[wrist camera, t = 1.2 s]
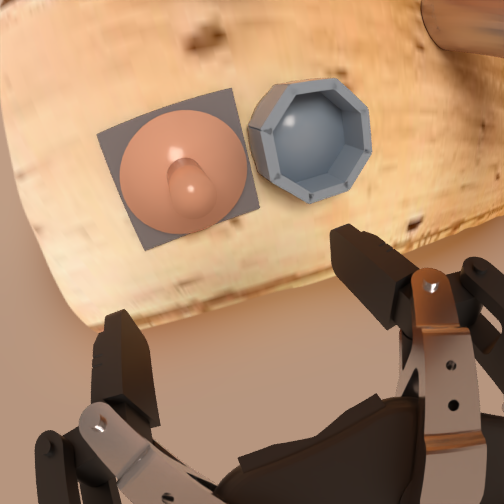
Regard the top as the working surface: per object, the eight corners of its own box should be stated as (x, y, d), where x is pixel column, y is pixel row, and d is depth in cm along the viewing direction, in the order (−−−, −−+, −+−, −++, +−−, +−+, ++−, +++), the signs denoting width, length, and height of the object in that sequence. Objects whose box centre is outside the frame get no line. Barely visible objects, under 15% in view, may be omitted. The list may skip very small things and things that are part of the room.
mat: (229, 88, 22) (231, 88, 22) (257, 205, 29) (260, 208, 28) (97, 133, 20) (96, 134, 20) (144, 248, 27) (144, 250, 27)
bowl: (339, 75, 24) (364, 75, 21) (350, 171, 30) (373, 182, 27) (236, 92, 22) (251, 91, 19) (261, 199, 29) (277, 215, 25)
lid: (227, 94, 22) (255, 93, 16) (254, 205, 28) (285, 238, 22) (103, 137, 20) (85, 152, 14) (147, 244, 26) (149, 290, 21)
